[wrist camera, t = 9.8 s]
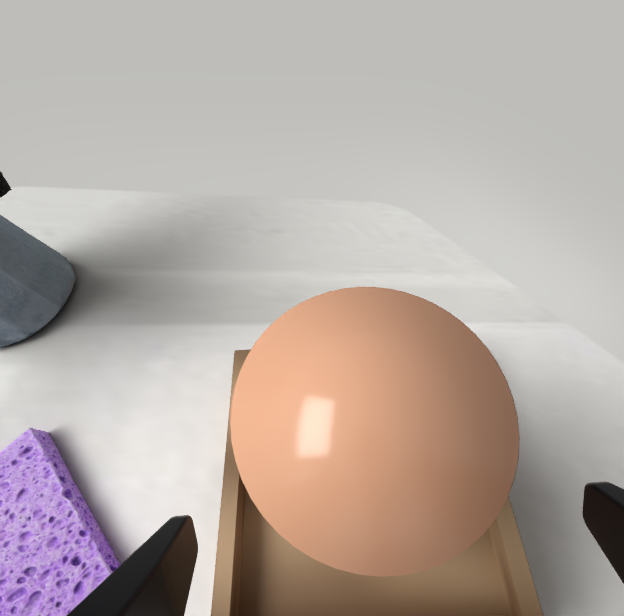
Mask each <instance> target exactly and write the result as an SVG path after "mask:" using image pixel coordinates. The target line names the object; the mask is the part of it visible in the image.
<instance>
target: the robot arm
mask: <svg viewBox="0 0 624 616" xmlns="http://www.w3.org/2000/svg"><path fill="white" fill-rule="evenodd" d="M583 518H584V521H585V523H586V525H587V527H588V529H589V530H590V532H591V533H592V535H593V537H594V538H595V540H596V541H597V543H598V544H599V546H600V547H601V549H602V551H603V552H604V554H605V555H606V557H607V558H608V560H609V561H610V563H611V565H612V566H613V568H614V569H615V571H616V572H617V574H618V576H619V577H620V579H621V580H622V582H623V583H624V489H622V488H620V487H618V486H615V485H613V484H611V483H609V482H592V483H588V484H587V485H586V486H585V489H584V501H583ZM197 553H198V543H197V538H196V534H195V529H194V525H193V520H192V518H191V517H190V516H188V515H184V516H175V517H172V518H171V519H169V520H168V521H167V522H166V523H165V524H164V525H163V526H162V527H161V528H160V529H159V530H158V531H156V532H155V533H154V534H153V535H152V536H151V537H150V538H149V539H148V540H147V541H146V542H145V543H144V544H142V545H141V546H140V547H139V548H138V549H137V550H136V551H135V552H134V553H133V554H132V555H131V556H130V557H129V558H127V559H126V560H125V561H124V562H123V563H122V564H121V565H120V566H119V567H118V568H117V569H116V570H115V571H114V572H112V573H111V574H110V575H109V576H108V577H107V578H106V579H105V580H104V581H103V582H102V583H101V584H100V585H98V586H97V587H96V588H95V589H94V590H93V591H92V592H91V593H90V594H89V595H88V596H87V597H86V598H85V599H83V600H82V601H81V602H80V603H79V604H78V605H77V606H76V607H75V608H74V609H73V610H72V611H71V612H70V613H68V614H67V615H66V616H184V613H185V608H186V604H187V599H188V595H189V590H190V586H191V581H192V577H193V572H194V568H195V563H196V559H197Z"/></svg>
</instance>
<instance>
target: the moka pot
mask: <svg viewBox="0 0 624 616" xmlns="http://www.w3.org/2000/svg"><path fill="white" fill-rule="evenodd" d="M10 190H12V189H11V188H10V186H9V185H8V183H7V181H6V180H5V178H4V177H3V175H2V173H1V172H0V197H2V196H4V195H5V194H7V192H8V191H10ZM75 282H76V277H75V273H74V271H73V268H72V266H71V264H70V263H69V262H68V260H67V259H66V258H65V257H64V256H63V255H61V254H60V253H58V252H57V251H55V250H54V249H52V248H50V247H49V246H47V245H46V244H44V243H43V242H41V241H40V240H38V239H36V238H35V237H33V236H31V235H30V234H28V233H27V232H25V231H24V230H23V229H21V228H19V227H18V226H16V225H14V224H13V223H11V222H10V221H8V220H7V219H6V218H4V217H3V216H1V215H0V347H4V346H6V345H10V344H12V343H15V342H18V341H21V340H24V339H26V338H28V337H29V336H31V335H33V334H34V333H36V332H37V331H39V330H40V329H41V328H43V327H44V326H45V325H46V324H47V323H48V322H49V321H50V320H52V319H53V318H54V317H55V316H56V314H57V313H58V312H59V311H60V310H61V308H62V307H63V305H64V304H65V303H66V301H67V300H68V297H69V295H70V293H71V291H72V289H73V286H74V283H75Z"/></svg>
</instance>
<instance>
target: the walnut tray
mask: <svg viewBox="0 0 624 616" xmlns="http://www.w3.org/2000/svg"><path fill="white" fill-rule="evenodd" d="M250 351H251V350H236V351H235V353H234V364H233V375H232V387H231V398H230V409H229V420H228V431H227V442H226V453H225V464H224V476H223V487H222V498H221V509H220V520H219V531H218V542H217V554H216V565H215V576H214V587H213V598H212V609H211V616H543V614H542V610H541V607H540V603H539V600H538V596H537V593H536V589H535V586H534V583H533V579H532V576H531V572H530V569H529V565H528V562H527V558H526V555H525V551H524V548H523V544H522V541H521V537H520V534H519V531H518V527H517V524H516V520H515V517H514V513H513V510H512V506H511V503H510V499H509V496H508V497H507V500H506V501H505V503H504V505H503V507H502V509H501V511H500V512H499V514H498V516H497V518H496V519H495V520H494V521H493V523H492V524H491V525H490V526H489V528H488V529H487V530H486V532H485V533H484V534H483V535H482V536H481V537H480V538H479V539H478V540H477V541H475V542H474V543H473V544H472V545H471V546H470V547H469V548H468V549H467V550H465V551H463V552H462V553H460V554H459V555H457V556H455V557H454V558H452V559H451V560H449V561H448V562H445V563H443V564H440V565H438V566H436V567H433V568H431V569H428V570H425V571H421V572H417V573H412V574H408V575H402V576H386V577H378V576H368V575H358V574H354V573H350V572H347V571H343V570H339V569H335V568H333V567H331V566H328V565H326V564H324V563H321V562H319V561H317V560H314V559H313V558H311V557H310V556H308V555H306V554H305V553H303V552H302V551H300V550H298V549H297V548H295V547H294V546H293V545H291V544H290V543H289V542H288V541H287V540H286V539H284V538H283V537H282V536H281V535H280V534H278V533H277V532H276V530H275V529H274V528H273V527H272V526H271V525H270V524H269V523H268V521H267V520H266V519H265V518H264V517H263V516H262V514H261V513H260V511H259V510H258V508H257V507H256V505H255V504H254V502H253V501H252V499H251V498H250V496H249V494H248V492H247V490H246V488H245V485H244V483H243V481H242V479H241V476H240V473H239V470H238V467H237V464H236V461H235V457H234V452H233V447H232V441H231V426H230V420H231V404H232V399H233V394H234V389H235V385H236V382H237V379H238V376H239V373H240V370H241V368H242V366H243V364H244V362H245V359H246V357H247V356H248V354H249V352H250Z"/></svg>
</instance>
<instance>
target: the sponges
mask: <svg viewBox="0 0 624 616" xmlns="http://www.w3.org/2000/svg"><path fill="white" fill-rule="evenodd" d="M120 565H121V563H120V562H118V560H117V559H116V557H115V554H114V551H113V549H112V548H111V546H110V545H109V543H108V541H107V539H106V537H105V536H104V534H103V533H102V531H101V528H100V526H99V525H98V523H97V521H96V519H95V517H94V516H93V514H92V512H91V511H90V509H89V506H88V505H87V503H86V501H85V499H84V498H83V496H82V494H81V492H80V491H79V488H78V486H77V485H76V484H75V483H74V481H73V479H72V477H71V473H70V471H69V470H68V468H67V466H66V464H65V462H64V460H63V459H62V457H61V454H60V453H59V451H58V449H57V447H56V445H55V443H54V442H53V440H52V438H51V437H50V435H49V433H48V432H45V431H40V430H36V429H33V428H29V429H28V430H27V431H25V432H24V433H23V434H22V435H20V436H19V437H18V438H17V439H16V440H14V442H12V443H11V444H9V445H8V446H7V447H6V448H4V449H3V450H2V451H1V452H0V616H66V615H67V614H68V613H70V612H71V611H72V610H73V609H74V608H75V607H76V606H77V605H78V604H79V603H80V602H81V601H82V600H83V599H85V598H86V597H87V596H88V595H89V594H90V593H91V592H92V591H93V590H94V589H95V588H96V587H97V586H98V585H100V584H101V583H102V582H103V581H104V580H105V579H106V578H107V577H108V576H109V575H110V574H111V573H112V572H114V571H115V570H116V569H117V568H118V567H119V566H120Z"/></svg>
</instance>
